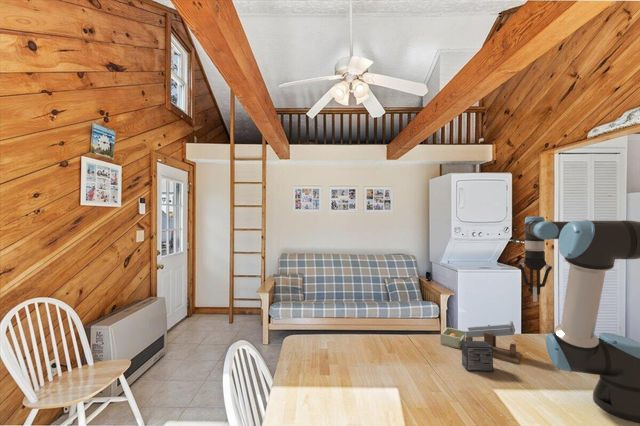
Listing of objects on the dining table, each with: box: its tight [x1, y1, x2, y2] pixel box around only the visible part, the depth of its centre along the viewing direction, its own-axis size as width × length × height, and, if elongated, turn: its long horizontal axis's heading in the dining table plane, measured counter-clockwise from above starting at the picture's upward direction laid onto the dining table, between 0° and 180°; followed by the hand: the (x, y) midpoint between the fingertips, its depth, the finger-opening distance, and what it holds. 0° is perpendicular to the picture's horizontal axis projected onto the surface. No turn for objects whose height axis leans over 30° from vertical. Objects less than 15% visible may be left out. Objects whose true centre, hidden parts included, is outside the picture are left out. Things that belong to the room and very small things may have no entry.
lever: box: [464, 320, 516, 338], centre depth 145 cm, size 14×20×4 cm
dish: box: [440, 326, 466, 350], centre depth 153 cm, size 11×9×5 cm
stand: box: [460, 324, 521, 364], centre depth 143 cm, size 11×23×11 cm, turn 52°
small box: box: [461, 340, 494, 373], centre depth 128 cm, size 11×6×10 cm, turn 84°
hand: (535, 301), depth 140 cm, fingers closed
